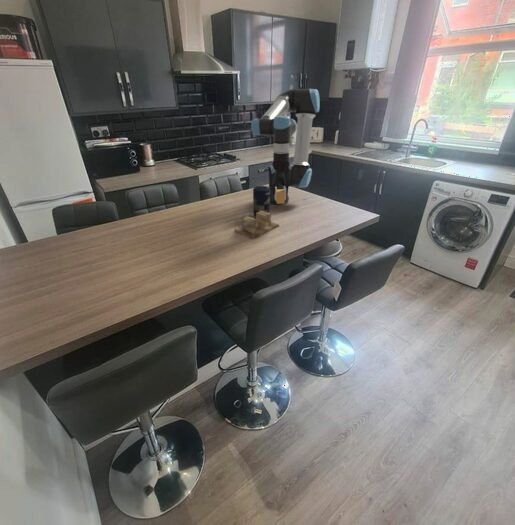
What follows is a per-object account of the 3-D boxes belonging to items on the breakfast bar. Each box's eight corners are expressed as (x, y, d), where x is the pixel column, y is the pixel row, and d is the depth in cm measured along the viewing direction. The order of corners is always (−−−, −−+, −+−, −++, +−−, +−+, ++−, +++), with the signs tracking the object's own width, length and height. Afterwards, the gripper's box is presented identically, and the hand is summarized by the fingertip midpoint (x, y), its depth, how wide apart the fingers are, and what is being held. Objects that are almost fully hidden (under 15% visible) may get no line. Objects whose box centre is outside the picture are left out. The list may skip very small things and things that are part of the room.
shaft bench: (259, 219, 166) (259, 207, 163) (278, 226, 158) (279, 213, 155) (234, 231, 154) (233, 218, 150) (253, 238, 146) (253, 225, 142)
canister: (260, 211, 177) (260, 182, 168) (273, 215, 172) (273, 185, 163) (250, 216, 171) (249, 186, 162) (262, 220, 166) (262, 189, 156)
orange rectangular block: (275, 200, 154) (275, 189, 151) (283, 200, 155) (283, 189, 152) (276, 203, 150) (277, 192, 147) (284, 203, 150) (284, 192, 147)
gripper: (264, 154, 136) (264, 202, 148) (300, 153, 137) (297, 201, 149) (262, 151, 142) (263, 197, 154) (297, 150, 143) (295, 196, 155)
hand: (280, 199), depth 152 cm, fingers closed on orange rectangular block, 4 cm apart
